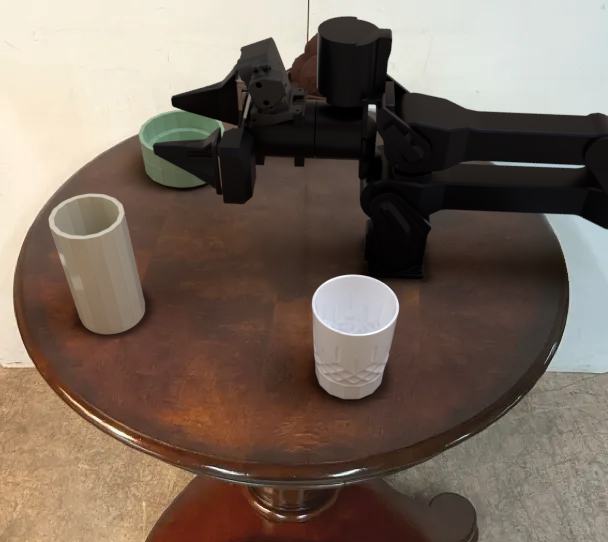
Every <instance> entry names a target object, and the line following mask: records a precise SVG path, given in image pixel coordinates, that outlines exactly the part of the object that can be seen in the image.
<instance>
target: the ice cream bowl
mask: <svg viewBox="0 0 608 542" xmlns="http://www.w3.org/2000/svg"><path fill="white" fill-rule="evenodd" d="M317 45H318V32H316V33H315V34H314V35H313V36H312V37H311V38H310V39H309V40H308V41H306V43H305V44H304V51H303V53H301V54H300V55H298V56H297V57H295V58H294V61H292V64H291V67H289V68H288V69H286V72H287V75H288V79H289V82H290V85H291V87H292V88H302V89H304V91H307V100H326V97H324V96H323V95H321V94H320V93H319V92H318V90H317Z"/></svg>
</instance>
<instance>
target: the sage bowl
mask: <svg viewBox="0 0 608 542" xmlns="http://www.w3.org/2000/svg"><path fill="white" fill-rule="evenodd" d="M219 127H221V135H223V132H225V131H226V129H225V127H224V124H223V122H221V121H218V120H214V119H211V118H207V117H204V116H200V115H197V114H193V113H190V112H186V111H183V110H180V109H173V110H170V111H169V110H168V111H165V112H161V113H158V114H156V115H153V116H152V117H150V118H149V119H147V120H146V121H145V122H144V123H142V124H141V126H140V129H139V131H138V138H139V143H140V148H141V154H142V161H143V166H144V169H145V173H146V175H147V176H149V178H150V179H151V180H153V181H154V182H156V183H158V184H161V185H163V186H165V187H166V186H168V187H172V188H194V187H198V186H203V185H205V184H206V183H205V182H204V181H202V180H200V179H199V178H197V177H196V176H194V175H192V174H190V173H188V172H187V171H185V170H183V169H181V168H179V167H177V166H175V165H174V164H172V163H170V162H168V161H166V160H164V159H162V158H160V157H158V156H156V155H155V154H154V151H153V144H154V143H158V142H166V141H181V140H199V139H206V138H207V137H208V136H209V135H211V134H212V133H213V132H214V131H215V130H216V129H217V128H219Z"/></svg>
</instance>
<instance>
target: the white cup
mask: <svg viewBox="0 0 608 542" xmlns="http://www.w3.org/2000/svg"><path fill="white" fill-rule="evenodd" d="M399 311H400V304H399V300H398V297H397V295H396V293H395V292H394V291H393V290H392V289H391V288H390V287H389V286H388V285H387V284H386V283H384V282H382V281H381V280H379V279H376V278H374V277H371V276H369V275H368V276H367V275H361V274H345V275H339V276H335V277H332V278H330V279H328V280H326V281H325V282H323V283H322V284H320V285H319V287H317V289H316V290H315V292H314V294H313V296H312V300H311V315H312V317H311V318H312V341H313V355H314V362H315V364H314V365H315V375H316V378H317V381H318V384H319V386H320V387H321V388H322V389H323V390H324V391H326V392H327V393H328V394H329V395H331V396H333V397H337V398H339V399H342V400H360V399H362V398H365V397H367V396H370V395H372V394H373V393H374V392H375V391H376V390H377V389H378V388H379V387H380V385H382V381H383V376H384V371H385V368H386V364H387V363H388V359H389V357H390V351H391V347H392V344H393V340H394V339H393V338H394V335H395V330H396V326H397V321H398V316H399Z"/></svg>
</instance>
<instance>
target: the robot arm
mask: <svg viewBox="0 0 608 542" xmlns="http://www.w3.org/2000/svg"><path fill="white" fill-rule="evenodd" d="M317 33H318V45H317V90H318V92H319V93H320V94H321V95H323V96H324V97H326V100H307V91H304V89H302V88H292V87H291V85H290V82H289V79H288V75H287V72H286V70H287V69H286V67H285V64H284V62H283V59H282V57H281V53H280V52H279V49H278V46H277V44H276V41H275V39H274V38H273V37H272V36H270V37H267V38H264V39H262V40H257V41H255V42H252V43H249V44H247V45H243V46H241V47H240V56H239V58H238V59H237V61H236V64H234V65H233V67H232V68H231V70H230V71H229V73H228V74H227V75H226V76H225V77H224V78H223V79H222V80H221V81H218V82H215V83H212V84H209V85H205V86H202V87H199V88H195V89H192V90H188V91H185V92H181V93H178V94H177V93H176V94H173V95H171V97H170V103H171V107H173V108H175V109H177V110H183V111H186V112H190V113H193V114H197V115H200V116H204V117H207V118H211V119H214V120H218V121H221V122H222V123H225V124H228V125H232V126H235V127H232V128H229V129H227V130H225V132H223V135H221V127H219V128H217V129H216V130H215V131H214V132H213V133H212V134H211V135H209V136H208V137H207V138H206V139H199V140H181V141H166V142H158V143H154V144H153V151H154V154H155V155H156V156H158V157H160V158H162V159H164V160H166V161H168V162H170V163H172V164H174V165H175V166H177V167H179V168H181V169H183V170H185V171H187V172H188V173H190V174H192V175H194V176H196V177H197V178H199V179H200V180H202V181H204V182H205V184H207V185H208V186H210V187H212V188H213V189H215V193H216V195H218V196H222V201H223V204H227V205H245V204H247V202H248V201H250V200H251V199H252V198H253V197H254V191H255V186H256V181H257V166H265V162H266V158H284V159H285V158H286V159H288V158H289V159H293V166H294V167H296V168H297V167H298V168H304V167H305V163H306V159H311V160H312V159H313V160H334V161H335V160H337V161H358V166H357V167H358V169H357V170H358V172H357V173H358V177H357V178H358V179H359V205H360V208H361V210H362V212H363V213H364V214H365V215H366V216H367V217H368V219H367V220H366V221H365V230H364V242H363V260H364V262H367V263H366V266H367V267H366V268H367V269H366V271H367V272H366V274H367V275H368V276H369V277H371V276H372V277H388V278H389V277H390V278H405V279H406V278H407V279H409V278H410V279H422V278H424V277H425V266H424V265H425V264H424V259H425V254H426V248H427V242H428V236H429V234H430V232H431V231H432V220H431V215H433V214H435V213H438V212H440V211H468V212H492V213H494V212H496V213H519V214H543V215H568V216H575V217H576V216H577V217H580V218H582V219H584V220H585V221H587V222H589V223H592V224H594V225H596V226H598V227H600V228H601V229H604V230H606V231H607V230H608V114H605V113H602V112H591V113H588V114H586V115H581V114H561V113H560V114H559V113H537V112H536V113H535V112H511V111H509V112H508V111H489V110H488V111H486V110H476V109H475V110H474V109H471V108H466V107H464V106H462V105H460V104H459V103H456V102H454V101H452V100H449V99H447V98H444V97H439V96H435V95H430V94H426V93H421V92H410V91H409V89H407V88H406V87H404V85H402V84H401V83H400V82H398V81H397V80H396V79H394V78H393V77H392V76H391V74H389V73H388V67H389V59H390V57H391V54H392V48H393V30H392V29H391V28H381V27H379V26H377V25H376V24H374V23H372V22H370V21H367V20H365V19H360V18H358V17H357V16H352V15H348V16H347V15H344V16H343V15H342V16H336V17H331V18H327V19H326V20H323V21H322V22H321V23H319V25H318V27H317ZM369 106H375V119H374V118H373V117H372V116H371V115H369ZM377 135H379V136H380V138H381V139H382V141H383V143H382V144H379V145H377ZM467 162H495V163H513V164H514V163H516V164H538V165H539V164H540V165H541V164H542V165H561V166H581V167H560V166H559V167H558V166H557V167H554V166H534V165H533V166H532V165H509V164H508V165H507V164H506V165H505V164H504V165H503V164H484V163H483V164H482V163H481V164H479V163H467Z"/></svg>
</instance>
